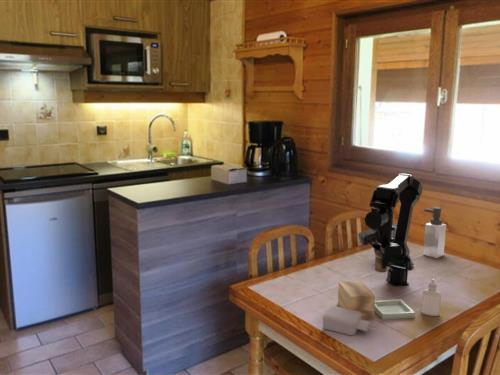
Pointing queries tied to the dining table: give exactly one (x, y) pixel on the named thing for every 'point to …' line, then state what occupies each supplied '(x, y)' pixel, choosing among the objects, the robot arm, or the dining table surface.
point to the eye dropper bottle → (431, 300)
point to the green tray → (393, 309)
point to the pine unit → (357, 298)
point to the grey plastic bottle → (345, 321)
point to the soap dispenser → (434, 235)
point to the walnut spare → (379, 263)
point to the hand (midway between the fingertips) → (381, 266)
